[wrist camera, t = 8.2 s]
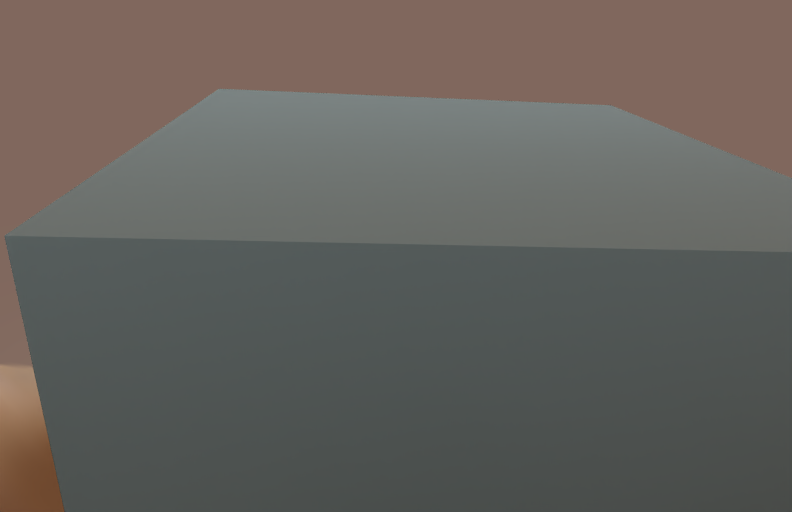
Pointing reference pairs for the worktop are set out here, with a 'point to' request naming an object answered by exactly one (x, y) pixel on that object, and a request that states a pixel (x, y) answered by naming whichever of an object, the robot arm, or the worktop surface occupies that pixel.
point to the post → (414, 313)
